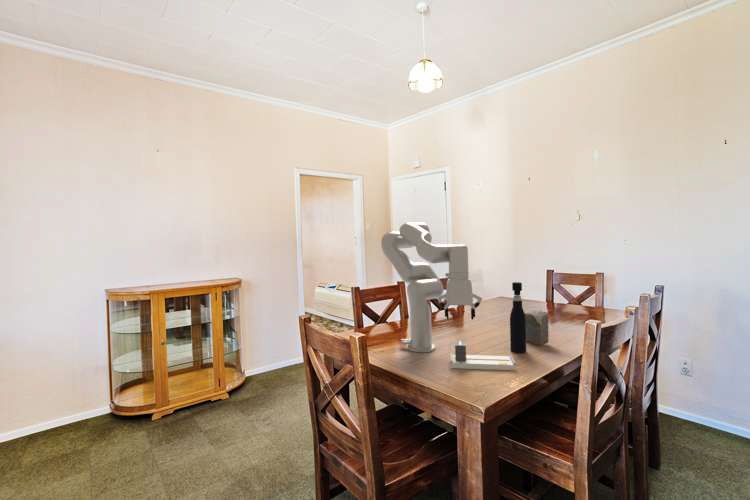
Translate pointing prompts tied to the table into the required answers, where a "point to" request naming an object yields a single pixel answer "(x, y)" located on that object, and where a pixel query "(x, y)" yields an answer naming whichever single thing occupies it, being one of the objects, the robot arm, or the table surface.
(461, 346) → the fader knob
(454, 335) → the table surface
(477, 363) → the fader panel
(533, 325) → the geological specimen
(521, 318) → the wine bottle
